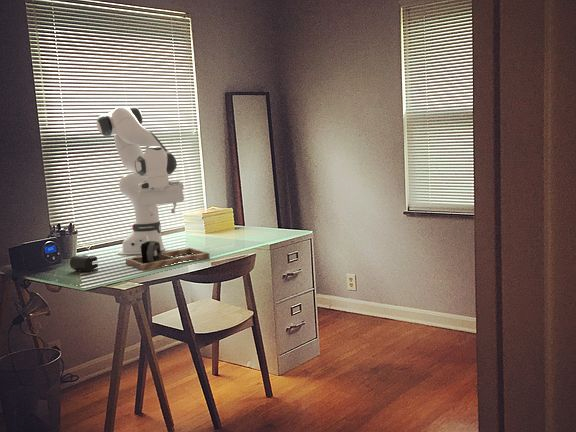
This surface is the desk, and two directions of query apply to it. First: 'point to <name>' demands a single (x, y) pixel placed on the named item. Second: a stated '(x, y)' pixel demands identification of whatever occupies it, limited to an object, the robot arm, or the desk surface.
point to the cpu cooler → (150, 251)
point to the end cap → (83, 263)
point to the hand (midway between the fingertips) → (162, 214)
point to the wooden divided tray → (167, 258)
